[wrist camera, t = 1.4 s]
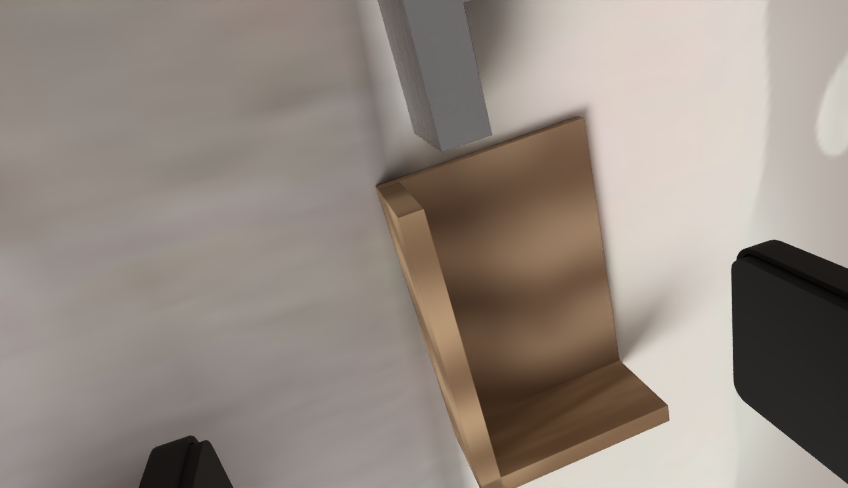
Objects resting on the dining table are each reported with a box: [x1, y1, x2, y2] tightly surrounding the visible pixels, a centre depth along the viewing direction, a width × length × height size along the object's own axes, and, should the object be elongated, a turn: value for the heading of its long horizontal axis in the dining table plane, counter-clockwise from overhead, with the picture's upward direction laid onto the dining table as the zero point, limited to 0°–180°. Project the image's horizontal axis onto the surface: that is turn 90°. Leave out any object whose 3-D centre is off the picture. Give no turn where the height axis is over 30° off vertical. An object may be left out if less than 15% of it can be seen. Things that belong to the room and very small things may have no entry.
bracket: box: [378, 0, 492, 152], centre depth 25 cm, size 8×7×5 cm
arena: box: [376, 116, 669, 488], centre depth 31 cm, size 18×12×6 cm, turn 15°
